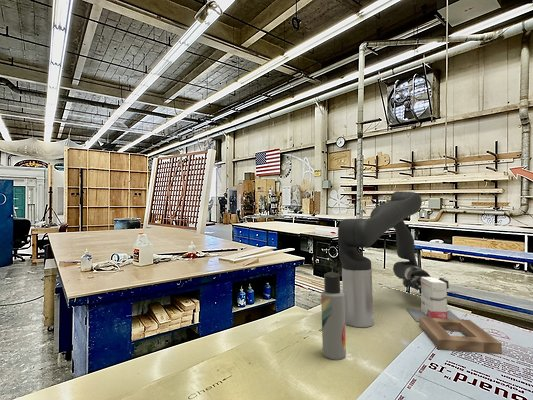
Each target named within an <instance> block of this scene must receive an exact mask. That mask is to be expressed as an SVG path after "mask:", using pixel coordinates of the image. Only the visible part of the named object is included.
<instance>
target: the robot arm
mask: <svg viewBox="0 0 533 400" xmlns="http://www.w3.org/2000/svg"><path fill="white" fill-rule="evenodd" d="M422 205H423V201H422V197H421V195H420V194H419V193H417V192H415V191H399V190H398V191H394V192H393V193H392V194H391V196H390V200H389V201H386V202H382V203H381V204H378V205H377V206H376V207H374V208H373V209H372V211H371V212H370V217H368V218H343V219H342V220H341V221H340V222H339V224H338V228H337V241H338V250H339V251H338V252H339V253H338V254H339V255H338V256H339V260H340V263H341V278H342V279H341V281H342V285H341V286H342V289H341V292H343V293H344V305H345V326H346V325H348V326H351V327H356V328H369V327H372V326H374V324H375V322H374V320H375V319H374V296H373V294H374V293H373V274H372V271H373V269H372V261H371V260H370V258H368V257H366V256H365V255H363V254H361V253H360V252H359V251H358V248H370V247H371V246H373V245H374V243H376V242H377V240H379V238H380V237H382V235H383V234H385V233H386V232H387V231H389V230H390V229H392V228H393V227H394V231H395V235H396V236H395V237H396V238H395V239H396V254H397V257H398V258H400V259H403V260H407V261H396V262H395V263H394V264H393V266H392V270H393V273H394V275H395V276H396V278H399V279H402V280H401V281H402V285H403V286H404V287H405V288H409V287H410V288H411V289H415V291H419V290H420V291H421V277H431V275H430V273H429V272H427V271H426V270H424V269H422V268H421V267H420V266H419V265H418V264H419V263H418V261H417V259H416V254H415V253H416V252H415V239H414V236H413V235H412V234H413V233H412V232H411V231H410V229H409V228H408V226H407V225H406V223H405V221H404V220H405V219H406V218H408V217H410V216H413V215H416V214H417V213H418V212H419V211H420V210H421V207H422ZM438 280H441V281H443V282H445V283H447V290H448V289H450V286H449V285H450V284H449V280H447V279H445V278H443V277H438Z"/></svg>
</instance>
